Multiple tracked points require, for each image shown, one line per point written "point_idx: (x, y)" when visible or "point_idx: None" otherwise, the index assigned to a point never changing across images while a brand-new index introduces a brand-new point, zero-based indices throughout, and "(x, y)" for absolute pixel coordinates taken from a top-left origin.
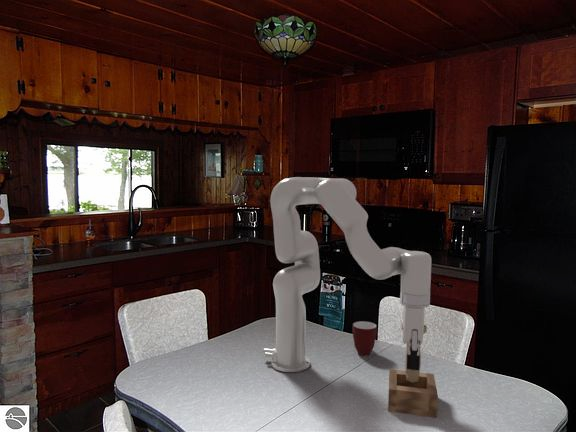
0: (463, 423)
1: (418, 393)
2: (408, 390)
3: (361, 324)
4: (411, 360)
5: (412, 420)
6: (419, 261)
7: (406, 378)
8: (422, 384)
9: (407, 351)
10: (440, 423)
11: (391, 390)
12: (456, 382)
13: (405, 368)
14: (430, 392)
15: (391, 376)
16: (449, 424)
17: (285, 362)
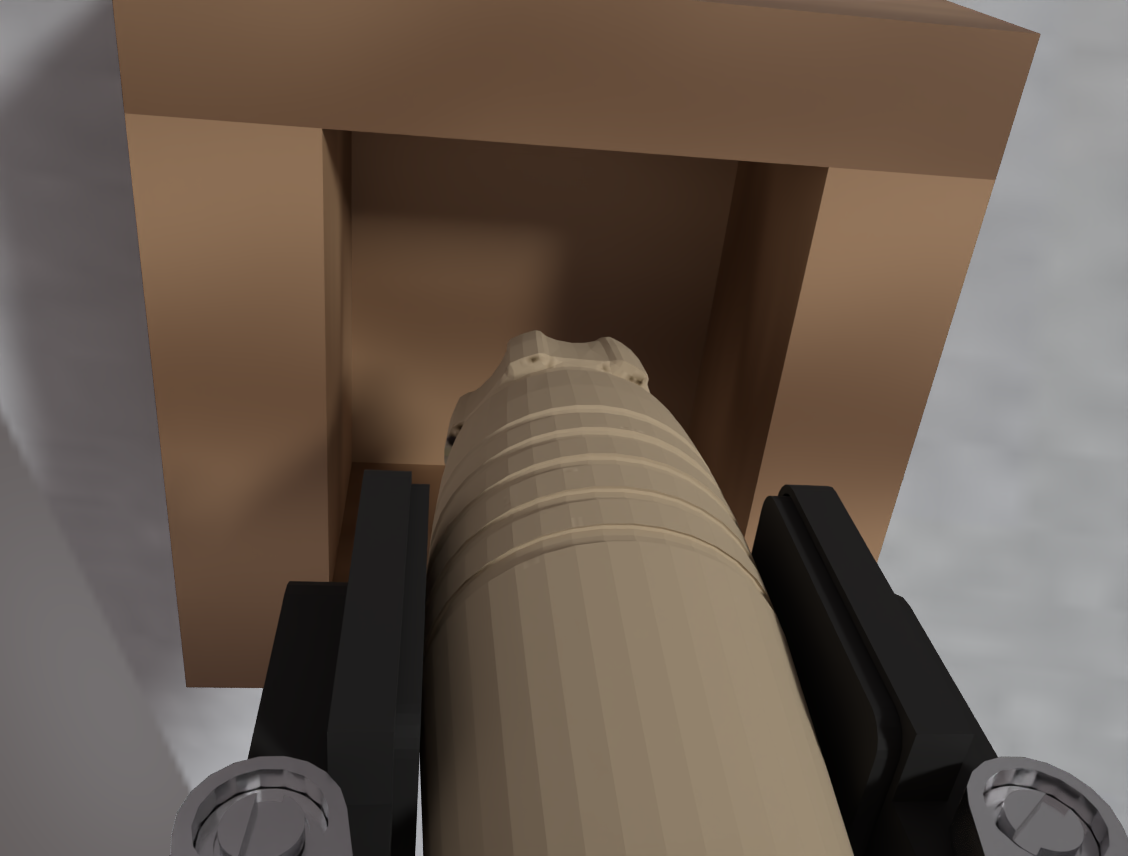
0: (217, 697)
1: (168, 456)
2: (182, 321)
3: None
4: (259, 718)
5: (81, 235)
6: None
7: (524, 340)
8: None
9: (528, 762)
10: (136, 517)
11: (115, 1)
12: (1026, 734)
13: (578, 407)
14: (225, 615)
15: (700, 52)
16: (149, 590)
17: None
